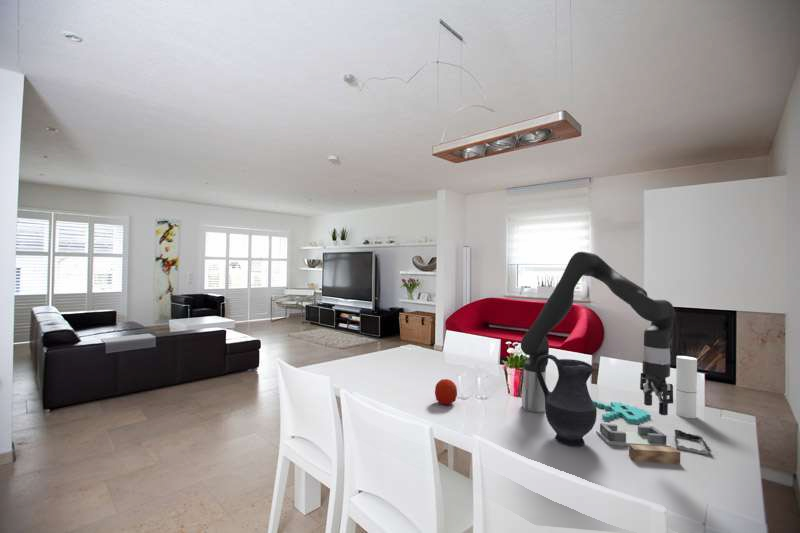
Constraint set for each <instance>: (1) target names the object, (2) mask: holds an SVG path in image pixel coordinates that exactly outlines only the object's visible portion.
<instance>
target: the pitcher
mask: <svg viewBox="0 0 800 533" xmlns="http://www.w3.org/2000/svg"><path fill="white" fill-rule="evenodd" d="M547 358H548V360H551V361H552V362H554V364H555V365H556V368H557V373H558V375H557V376H558V377H557V381H556V384H555V386H554V388H553V390H552V391H550V390H549V388H548V386H547V384H546V383H545V381H544V379H543V376H542V374H541V371H540V362H541V361H542V360H544V359H547ZM535 370H536V374H537V377H538V380H539V383H540V385H541V388H542V390H543V392H544V396H545V411H544V412H545V417H546V419H547V422H548V424H549V426H550V427H551V428H552V429H553V431H554V432H555V433H556V434H555V436H554V438H555V441H556V442H558V443H559V444H562V445H564V446H568V447H573V448H577V447H582V446H584V445H585V443H586V442H585V440H584V438H583V437H585V436H587V434H588V433H590V432H591V431H592V429H593V428H594V426H595V424H596V421H597V412H598V411H597V406H595V404H594V402H593V401H592V400H593V399H592V397H591V395H590V392H589V390H588V389H589V388H588V385H587V382H588V380H589V379H590V376H592V374H593V373H594V372H595V370H596V367H594V366H593V365H592V364H590V363H589V362H586V361H583V360H579V359H572V358H571V359H569V358H561V359H558V357H556V356H555V355H553V354H549V355H543V356H541V357H539V358H538V359H537V361H536V364H535Z"/></svg>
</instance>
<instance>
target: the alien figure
mask: <svg viewBox="0 0 800 533" xmlns="http://www.w3.org/2000/svg"><path fill="white" fill-rule="evenodd" d="M592 401H593V402H594V404H595V406H596V408H598V409H603V410H604V409H605V410H604V411H609V412H606V414H605V413H604V414H602V415H601V416H602V418H601V419H602V420H603V421H604V422H605V421H606V422H610V421H611V420H615V419H618V417H620V418H621V417H622V419H623V420H624V421H625V422H626V423H627V424H637V425H640V424H641V423H644V422H645V421H647V422H648V420H651V418H652V417H651V416H652V415H651V414H650V412H649V413H648V411H646V410H645V409H643V408H638V407H637V406H631V405H629V404H624V403H622V402H616V401H610V404H605V403H603V402H600V401H599V402H598V401H596V400H595V399H592Z"/></svg>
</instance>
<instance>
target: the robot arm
mask: <svg viewBox="0 0 800 533" xmlns="http://www.w3.org/2000/svg"><path fill="white" fill-rule="evenodd" d="M584 276H585V277H592V278H594V279H596V280H598V281H600V282H602V283H604V284H605V285H606V287H608V288H609V290H610V291H611V292H612V294H613V295H615V296H616V297H618V298H619V299H620V300H622V301H623V302H625V303H626V304H628V305H629V306H630V307H631V309H633V310H634V312H636V314H637V315H638V316H639V317H641V318H642V319H644V320H646V321H649V322H650V323H651V324H650V326H649V327H648V328H645V329H644V331H643V348H642V368H641V369H642V370H641V371H642V372H640V378H639V379H640V382H639V390H641V391H642V393H643V396H644V397H643V405H645V406H648V407H649V406H650V407H651V406H652V405H653V393H654V394H655V396H656V397H657V399H658V401H659V403H658V414H659V415H660V416H668V414H669V413H668V412H669V411H668V410H669V404H674V386H673V384H672V383H667V381H666V379H667V378H669V377H670V376H671V351H670V343H671V342H670V334H671V332H672V330H673V326H674V322H675V316H676V312H675V308H674V306H673V303H671V302H670V301H669V300H666V299H652V298H651V297H649V296H648V292H647V291H646V290H645V289H644V288H643V287H641V286H640V285H638V284H636V283H635V282H633V281H631V280H630V279H628V278H627V277H625V276H623V275H622V274H620V273H619V272H617V271H616V270H615V269H613V268H612V267H611V266H610V265H609V264H608V263H607V262H606V261H605V260H604V259H603V258H601V257H600V256H599V255H597V254H596V253H592V252H588V251H583V250H581V251H577V252H575V253H574V254H573V255H571V258H570V259H569V260H568V263H567V264H566V267H565V270H564V271H563V274H562V276H561V278H560V280H559V281H558V283H557V284H556V285H555V288H554V289H553V291H552V293H551V294H550V296H549V298H548V299H547V301H546V302H545V304H544V306H543V308H542V309H541V311H540V312H539V314H538V316H537V317H536V320H535V321H534V322H533V324H532V325H531V326H530V328H529V329H528V331H527V330H526V332H525V334H524V335H523V336H522V338H521V341H520V349H521V351H522V353H524V354H525V355H527V356H528V358H527V359H526V360H525V361H524V363H523V383H522V385H521V386H522V387H521V406H522V408H523V410H524V411H528V412H533V413H543V412H545V396H544V392H543V390H542V388H541V385H540V383H539V380H538V377H537V374H536V370H535V364H536V361H537V359H538V358H539V357H541V356H543V355H550V354H549V352H550V345H549V344H550V342H549V340H548V337H547V335H548V334H549V333H550V331H552V330H553V329H554V328H555V327H557V325H559V324H560V323H562V322H563V320H564V319H565V318H566V316H567V314H568V313H569V312H570V310H571V308H572V306H573V305H574V304H573V303H574V293H575V290H576V286H577V284H578V282H580V280H581V278H582V277H584ZM548 364H549V358H547V359H544V360H542V361H541V362H540V371H541V374H542V376H543V379H544V381H545V383H546V378H547V376H546V375H547V372H546V371H547V367H548Z"/></svg>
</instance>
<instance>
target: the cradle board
mask: <svg viewBox="0 0 800 533" xmlns="http://www.w3.org/2000/svg"><path fill="white" fill-rule="evenodd" d="M624 432H625V433H626V442H620V441H609V440H608V439H607V438H606V437H605V436H604V435H603V434H602V433H601V432H600V429H596V430H595V434H597V435H598V436H599V437H600V438H601V439H602V440H603V441H604V443H606V444H607V445H609V446H620V447H621V446H622V447H623V446H624V447H629V444H631V445H646V446H662V447H672V445H670V444H669V443H668V442H666V444H651V443H649V442H647V437H648V436H641V435H639V434H638V432H632V431H624Z"/></svg>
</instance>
